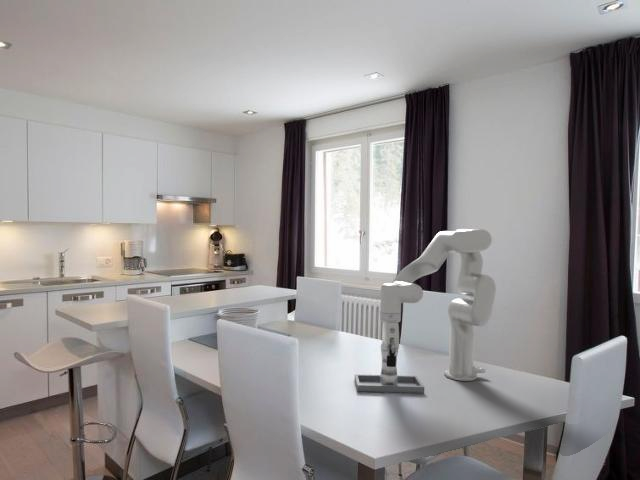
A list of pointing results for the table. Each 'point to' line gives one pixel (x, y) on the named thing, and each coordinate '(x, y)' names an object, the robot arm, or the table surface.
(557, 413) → the table surface
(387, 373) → the plastic bottle
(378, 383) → the grey rectangular tray
